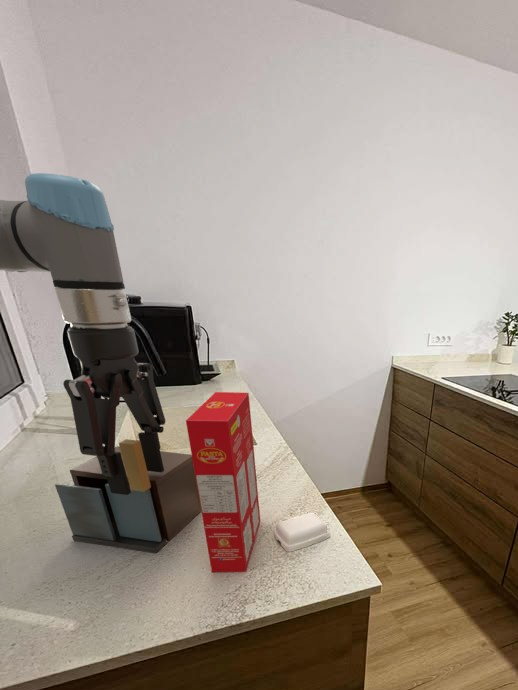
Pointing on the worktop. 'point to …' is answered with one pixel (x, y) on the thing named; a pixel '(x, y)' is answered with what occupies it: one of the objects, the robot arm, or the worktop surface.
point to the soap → (301, 531)
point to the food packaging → (226, 478)
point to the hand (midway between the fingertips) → (139, 480)
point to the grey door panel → (135, 497)
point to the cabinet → (166, 487)
